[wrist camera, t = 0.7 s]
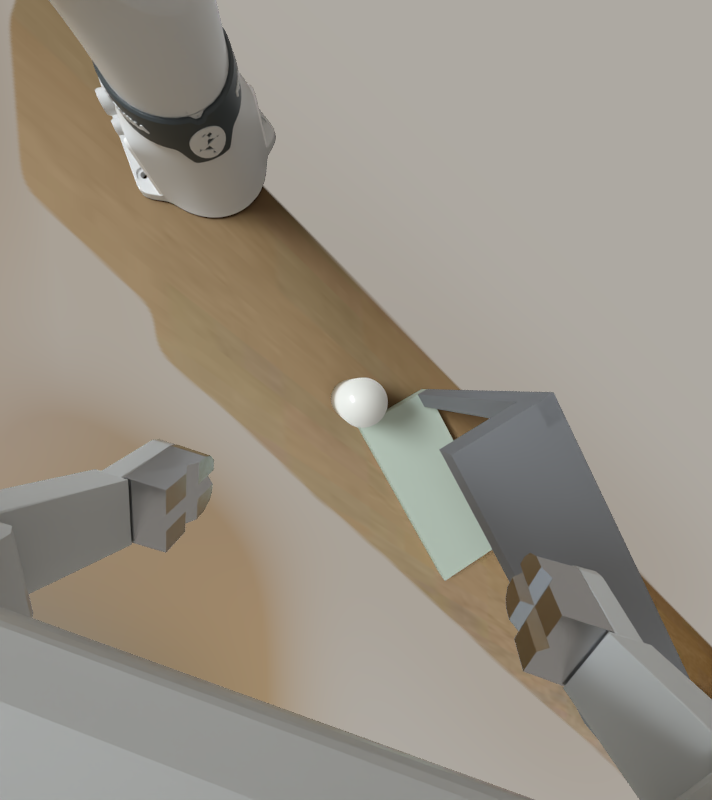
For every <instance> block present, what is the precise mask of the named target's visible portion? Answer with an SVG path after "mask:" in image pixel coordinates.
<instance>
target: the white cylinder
mask: <svg viewBox="0 0 712 800" xmlns="http://www.w3.org/2000/svg"><path fill="white" fill-rule="evenodd" d="M331 404H332V407H333V409H334V410H335V412H336V413H337V414H339V415H340V416H341V417H342V418H343V419H344V420H346V421H347V422H348V423H349V424H351V425H353V426H355V427H360V428H366V427H370V426H373V425H375V424H377V423H378V422H379V421H380V420H381V419H382V418H383V417H384V415H385V413H386V410H387V406H388V399H387V395H386V392H385V390H384V388H383V387H382V386H381V385H380V384H379V383H378V382H376V381H375V380H373V379H370V378H356V379H349V380H344V381H342V382H340V383H338V384H337V385H336V386H335V387H334V389H333V391H332V394H331Z"/></svg>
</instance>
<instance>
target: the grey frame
mask: <svg viewBox="0 0 712 800" xmlns="http://www.w3.org/2000/svg"><path fill="white" fill-rule="evenodd" d="M437 409H440V410H446V411H452V412H457V413H463V414H469V415H475V416H481V417H486V418H490V419H488V420H487V421H485V422H483V423H482V424H480V425H478V426H477V427H475V428H474V429H472V430H470V431H469V432H467V433H465V434H464V435H462V436H460V437H459V438H457V439H456V440H454V441H453V439H452V437H451V435H450V433H449V431H448V429H447V427H446V425H445V423H444V421H443V420H442V418H441V416H440V414H439V412H438V410H437ZM358 428H359V430H360V432H361V434H362V436H363V437H364V439H365V441H366V443H367V445H368V446H369V448H370V450H371V452H372V454H373V455H374V457H375V459H376V461H377V462H378V464H379V466H380V468H381V470H382V471H383V473H384V475H385V477H386V479H387V480H388V482H389V484H390V486H391V488H392V489H393V491H394V493H395V495H396V497H397V498H398V500H399V502H400V504H401V505H402V507H403V509H404V511H405V513H406V514H407V516H408V518H409V520H410V522H411V523H412V525H413V527H414V529H415V531H416V532H417V534H418V536H419V538H420V539H421V541H422V543H423V545H424V547H425V548H426V550H427V552H428V554H429V556H430V557H431V559H432V561H433V563H434V565H435V566H436V568H437V570H438V572H439V573H440V575H441V576H442V578H443V579H444V580H447V579H448V578H450V577H451V576H453V575H454V574H456V573H457V572H459V571H460V570H462V569H463V568H465V567H466V566H468V565H469V564H471V563H472V562H474V561H475V560H477V559H478V558H480V557H481V556H483V555H484V554H486V553H487V552H489V551H490V550H493V552H494V553H495V555H496V557H497V559H498V561H499V563H500V565H501V567H502V568H503V570H504V572H505V574H506V576H507V578H508V580H509V582H510V581H511V579H512V577H514V576H516V575H518V574H520V573H523V571H522V568H521V565H520V563H521V562H522V560H523V558H524V557H525V556H526V555H528V554H529V553H532V554H536V555H539V556H542V557H546V558H549V559H552V560H556V561H559V562H562V563H566V564H569V565H575V566H578V567H582V568H586V569H589V570H593V571H596V572H597V573H598V574H600V575H601V576H602V577H603V578H604V580H605V582H606V583H607V585H608V586H609V588H610V590H611V591H612V593H613V594H614V596H615V598H616V599H617V601H618V602H619V604H620V606H621V607H622V609H623V610H624V612H625V614H626V615H627V617H628V618H629V620H630V622H631V623H632V625H633V626H634V628H635V630H636V631H637V633H638V634H639V636H640V638H641V639H642V641H643V643H646V644H649V645H652V646H653V647H654V648H655V649H656V650H657V651H658V652H660V653H661V654H662V655H663V656H664V657H665V658H666V659H667V660H668V661H670V662H671V663H672V664H673V665H674V666H675V667H676V668H677V669H678V670H680V671H681V672H682V673H683V674H684V675H685V676H686V677H687V678H688V679H689V676H688V674H687V672H686V670H685V668H684V666H683V664H682V662H681V660H680V658H679V655H678V653H677V651H676V649H675V647H674V645H673V643H672V641H671V639H670V637H669V634H668V632H667V630H666V628H665V626H664V624H663V622H662V620H661V618H660V615H659V613H658V611H657V609H656V607H655V605H654V603H653V601H652V599H651V597H650V594H649V592H648V590H647V588H646V586H645V584H644V582H643V580H642V578H641V576H640V573H639V571H638V569H637V567H636V565H635V563H634V561H633V559H632V557H631V555H630V552H629V550H628V548H627V546H626V544H625V542H624V540H623V538H622V536H621V534H620V531H619V530H618V527H617V525H616V523H615V521H614V519H613V517H612V515H611V512H610V510H609V508H608V506H607V504H606V502H605V500H604V498H603V496H602V494H601V491H600V490H599V487H598V485H597V483H596V481H595V479H594V477H593V475H592V472H591V470H590V468H589V466H588V464H587V462H586V460H585V458H584V456H583V454H582V451H581V449H580V447H579V445H578V443H577V441H576V439H575V437H574V435H573V433H572V430H571V428H570V426H569V424H568V422H567V420H566V418H565V416H564V414H563V411H562V409H561V407H560V405H559V403H558V401H557V399H556V397H555V395H554V393H553V392H517V391H515V392H514V391H473V390H435V389H421V390H419V391H418V392H416V393H414V394H413V395H411V396H409V397H407V398H406V399H404V400H402V401H401V402H399V403H397V404H395V405H394V406H392V407H390V408H388V409H387V410H386V413H385V415H384V417H383V418H382V419H381V420H380V421H379V422H378V423H377V424H375V425H373V426H370V427H366V428H360V427H358ZM577 710H578V709H577ZM578 711H579V710H578ZM579 713H580V712H579ZM580 715H581V713H580ZM581 717H582V719H583V721H584V723H585V724H586V725H587V726H588V728H589V729H590V730H591V731H592V729H591V728H590V726H589V725H588V724H587V722H586V721H585V719H584V718H583V716H582V715H581ZM592 732H593V731H592ZM593 734H594V732H593ZM594 735H595V734H594ZM595 736H596V735H595ZM597 739H598V738H597Z"/></svg>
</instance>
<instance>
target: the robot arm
mask: <svg viewBox="0 0 712 800" xmlns="http://www.w3.org/2000/svg"><path fill="white" fill-rule="evenodd" d="M49 1H50V2H51V4H52V5H53V6H54V8H55V9H56V10H57V12H58V13H59V14H60V16H61V17H62V18H63V19H64V21H65V22H66V24H67V25H68V26H69V28H70V29H71V30H72V32H73V33H74V35H75V36H76V37H77V39H78V40H79V42H80V43H81V44H82V46H83V47H84V49H85V50H86V52H87V53H88V54H89V56H90V57H91V59H92V61H93V64H94V68H95V71H96V73H97V75H98V77H99V81H100V84H101V86H102V87H99V88H96V89H95V92H96V95H97V97H98V99H99V101H100V103H101V105H102V107H103V108H104V110H105V111H106V113H107V114H108V115H110V116H112V117H113V119H112V120H111V122H112V125H113V127H114V129H115V130H116V132H117V133H118V135H119V136H120V139H121V142H122V145H123V147H124V150H125V153H126V156H127V158H128V161H129V164H130V167H131V170H132V172H133V175H134V178H135V181H136V183H137V186H138V188H139V190H140V191H141V193H142V194H143V195H144V196H146V197H148V198H151V199H155V200H161V201H168V202H170V203H173V204H175V205H176V206H178V207H180V208H182V209H183V210H185V211H188V212H190V213H192V214H195V215H199V216H204V217H225V216H229V215H232V214H235V213H237V212H239V211H241V210H243V209H245V208H246V207H247V206H249V205H250V204H251V203H252V202H253V201H254V200H255V198H256V197H257V196H258V194H259V193H260V191H261V189H262V187H263V184H264V181H265V176H266V166H267V158H268V155H269V153H270V151H271V149H272V147H273V145H274V143H275V139H276V136H275V132H274V128H273V127H272V125H271V124H270V122H269V121H268V120H267V119H266V117H265V116H264V115H263V113H262V112H261V111H260V110H259V108H258V103H257V99H256V96H255V92H254V89H253V87H252V86H251V85H248V84H247V82H246V81H245V79H244V78H243V77H242V76H241V74H240V73H239V72H238V67H237V63H236V59H235V56H234V52H233V51H232V48H231V44H230V41H229V39H228V36H227V34H226V32H225V30H224V29H223V27H222V24H221V20H220V16H219V11H218V7H217V2H216V0H49ZM145 175H147V178H146V179H143V177H144V176H145ZM213 467H214V459H213V458H212V457H211V456H210V455H207V454H204V453H201V452H198V451H195V450H191V449H188V448H185V447H182V446H179V445H175V444H173V443H169V442H166V441H163V440H160V439H157V440H152V441H150V442H148V443H147V444H145V445H143V446H142V447H140V448H138V449H137V450H135V451H133V452H132V453H130V454H129V455H127V456H125V457H124V458H122V459H120V460H119V461H117V462H115V463H114V464H112V465H111V466H109V467H107V468H106V469H104V470H102V471H99V470H90V471H85V472H80V473H76V474H71V475H66V476H62V477H57V478H52V479H48V480H43V481H38V482H34V483H29V484H24V485H20V486H15V487H10V488H6V489H1V490H0V800H534V799H531V798H528V797H526V796H523V795H520V794H517V793H514V792H512V791H509V790H506V789H504V788H501V787H498V786H495V785H493V784H490V783H487V782H484V781H481V780H479V779H476V778H473V777H470V776H468V775H465V774H462V773H459V772H457V771H454V770H451V769H448V768H446V767H443V766H440V765H437V764H435V763H432V762H429V761H426V760H424V759H421V758H418V757H415V756H412V755H410V754H407V753H404V752H401V751H399V750H396V749H393V748H390V747H388V746H385V745H382V744H379V743H376V742H374V741H371V740H368V739H366V738H362V737H360V736H357V735H354V734H352V733H349V732H346V731H343V730H341V729H338V728H335V727H332V726H330V725H327V724H324V723H321V722H319V721H315V720H313V719H310V718H307V717H304V716H302V715H299V714H296V713H294V712H291V711H288V710H285V709H282V708H280V707H277V706H274V705H271V704H269V703H266V702H263V701H260V700H257V699H255V698H252V697H249V696H246V695H243V694H241V693H238V692H235V691H233V690H229V689H227V688H224V687H221V686H219V685H216V684H213V683H210V682H208V681H205V680H202V679H199V678H197V677H194V676H191V675H188V674H185V673H183V672H180V671H177V670H174V669H172V668H169V667H166V666H163V665H160V664H158V663H155V662H152V661H150V660H147V659H144V658H141V657H138V656H136V655H133V654H130V653H127V652H125V651H122V650H119V649H116V648H113V647H111V646H108V645H105V644H102V643H99V642H97V641H94V640H91V639H88V638H86V637H83V636H80V635H78V634H75V633H72V632H69V631H67V630H64V629H61V628H58V627H55V626H52V625H50V624H47V623H44V622H42V621H39V620H36V619H33V618H32V617H33V610H32V606H31V602H30V598H29V594H30V593H32V592H34V591H36V590H38V589H40V588H42V587H44V586H47V585H49V584H50V583H53V582H55V581H57V580H59V579H61V578H63V577H65V576H67V575H69V574H71V573H74V572H76V571H78V570H80V569H82V568H84V567H86V566H88V565H90V564H92V563H94V562H96V561H98V560H101V559H102V558H105V557H107V556H109V555H111V554H113V553H115V552H117V551H119V550H121V549H123V548H125V547H127V546H129V545H131V544H132V543H136V544H139V545H142V546H146V547H149V548H152V549H156V550H159V551H163V552H167V551H168V550H169V549H170V548H171V546H172V545H173V544H174V543H175V542H176V541H177V540H178V539H179V538H180V536H182V534H183V533H184V532H185V523H188V522H190V521H193V520H195V519H197V518H198V517H199V515H201V513H202V512H203V511H204V509H205V508H206V506H207V504H208V502H209V500H210V496H211V493H212V485H213V484H212V482H211V481H210V479H209V477H208V475H209V474H210V473H211V472H212V471H213V469H214V468H213ZM520 565H521V568H522V571H523V573H520V574H518V575H516V576H514V577H512V579H511V581H510V583H509V585H508V587H507V593H506V609H507V613H508V617H509V620H510V621H511V622H512V624H513V625H514V626H515V628H516V629H517V630H518V633H517V635H516V637H515V639H514V640H515V643H516V647H517V651H518V654H519V658H520V662H521V665H522V669H523V671H524V672H527V673H529V674H532V675H535V676H538V677H540V678H543V679H546V680H549V681H551V682H554V683H557V684H560V685H562V686H564V688H563V689H564V690H565V691H566V693H567V694H568V696H569V697H570V699H571V700H572V702H573V703H574V705H575V706H576V708H577V709H578V710H579V712H580V713H581V715H582V716H583V718H584V719H585V721H586V722H587V724H588V725H589V726H590V728H591V729H592V731H593V732H594V734H595V735H596V737H597V738H598V740H599V741H600V743H601V744H602V745H603V747H604V748H605V750H606V751H607V753H608V754H609V756H610V757H611V759H612V760H613V762H614V763H615V764H616V766H617V767H618V769H619V770H620V772H621V773H622V775H623V776H624V778H625V779H626V781H627V782H628V783H629V785H630V786H631V788H632V789H633V791H634V792H635V793H636V795H637V797H638V798H639V799H640V800H712V699H711V698H710V697H708V696H707V695H706V694H705V693H704V692H703V691H702V690H701V689H700V688H698V687H697V686H696V685H695V684H694V683H693V682H692V681H691V680H690V679H688V678H687V677H686V676H685V675H684V674H683V673H682V672H681V671H680V670H678V669H677V668H676V667H675V666H674V665H673V664H672V663H671V662H670V661H668V660H667V659H666V658H665V657H664V656H663V655H662V654H661V653H660V652H658V651H657V650H656V649H655V648H654V647H653V646H652V645H649V644H646V643H643V641H642V639H641V638H640V636H639V634H638V633H637V631H636V630H635V628H634V626H633V625H632V623H631V622H630V620H629V618H628V617H627V615H626V614H625V612H624V610H623V609H622V607H621V606H620V604H619V602H618V601H617V599H616V598H615V596H614V594H613V593H612V591H611V590H610V588H609V586H608V585H607V583H606V582H605V580H604V578H603V577H602V576H601V575H600V574H598V573H597V572H596V571H593V570H589V569H586V568H582V567H578V566H575V565H569V564H566V563H562V562H559V561H556V560H552V559H549V558H546V557H542V556H539V555H536V554H532V553H529V554H528V555H526V556H525V557H524V558H523V560H522V562H521V563H520Z"/></svg>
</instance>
